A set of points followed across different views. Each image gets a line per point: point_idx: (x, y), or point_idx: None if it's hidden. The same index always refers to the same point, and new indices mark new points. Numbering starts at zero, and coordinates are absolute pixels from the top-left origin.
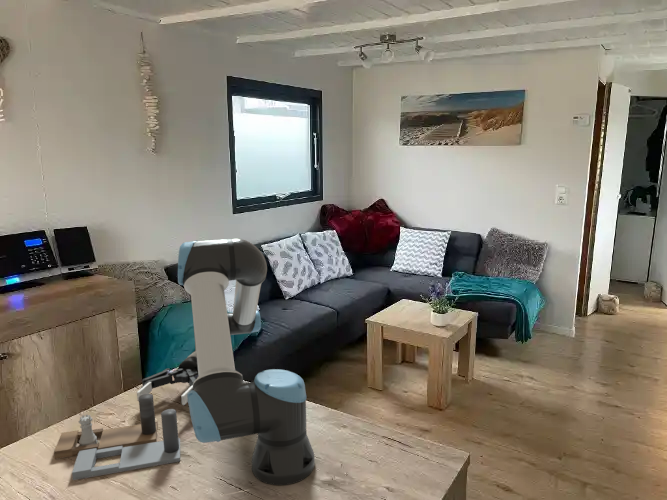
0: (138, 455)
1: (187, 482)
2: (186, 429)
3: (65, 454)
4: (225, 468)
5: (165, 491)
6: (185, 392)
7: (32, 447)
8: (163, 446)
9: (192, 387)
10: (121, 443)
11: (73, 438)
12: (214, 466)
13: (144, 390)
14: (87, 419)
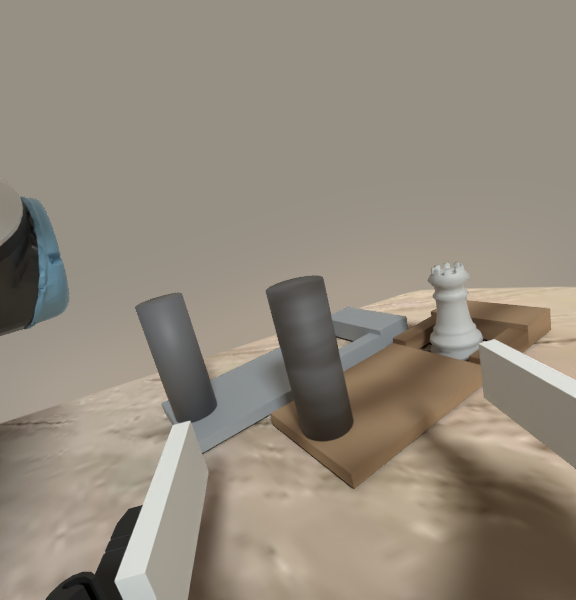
0: (271, 370)
1: (133, 393)
2: (200, 527)
3: None
4: (42, 445)
5: None
6: (174, 454)
7: (568, 304)
8: (225, 405)
9: (131, 542)
10: (354, 368)
11: (482, 316)
12: (71, 438)
13: (524, 387)
14: (432, 271)
